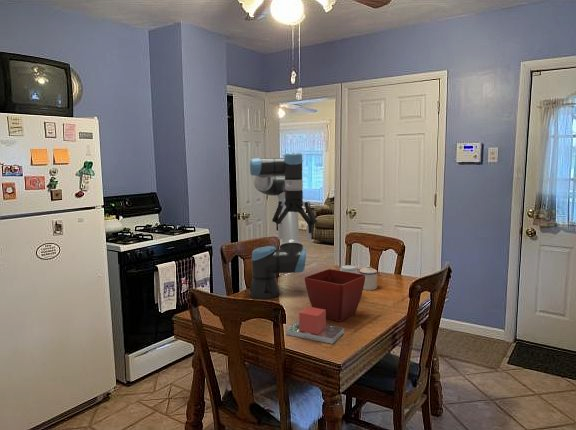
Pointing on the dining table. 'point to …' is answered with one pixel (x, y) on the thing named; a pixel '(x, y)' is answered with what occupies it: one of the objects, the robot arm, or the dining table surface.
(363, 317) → the dining table surface
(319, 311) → the red cube
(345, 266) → the supplement can
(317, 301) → the plant pot
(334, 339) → the breaker panel
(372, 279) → the teacup with lid
